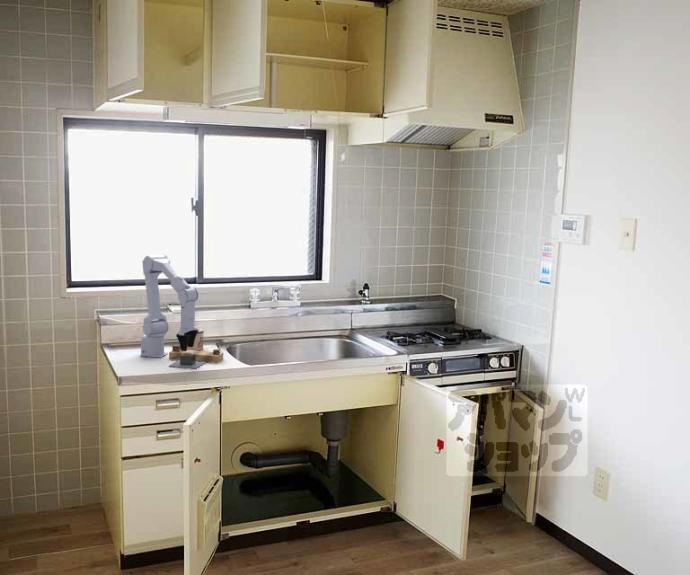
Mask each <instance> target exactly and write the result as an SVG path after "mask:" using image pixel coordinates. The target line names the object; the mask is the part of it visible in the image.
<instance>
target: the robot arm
mask: <svg viewBox="0 0 690 575" xmlns="http://www.w3.org/2000/svg"><path fill="white" fill-rule="evenodd" d="M141 264H142V270H143V271H142V272H143V273H142V274H143V275H144V282H145V290H146V300H147V310H148V314H147V315H146V316H145V317H144V318H143V319H142V320H143V325H142V331H143V333H144V334H143V335H142V337H141V339H140V357H145V356H147V358H148V357H149V358H158V357H159V358H160V359H161V358H163V357H164V355H165V356H166V355H169V353H168V352H165V336H167V333H168V331H169V329H170V328H169V322H168V320H167V316H166V315H165V314H164V313H162V308H161V299H160V291H159V280H158V278H159V276H160V275H161V274H164V276H165V277H166V278H167V279H168V280H170V286H171V287H172V289H173V290H174V291H175V292H176V293H177V298H178V301H179V307H180V327H179V330H178V333H176V335H175V337H176V338H177V340H178V343H179V345H180V348H181V351H187V347H193V346H194V341H195V338H196V335H197V333H198V330H197V328H196V326H197V324H196V322H195V320H196V318H195V317H196V301H198V298H199V292H198V290H197V289H196V287H192V286H190V285H189V284H188V283H187V281H186V279H184V277H183V276H181V275H177V273H176V271H175V270H174V268H173V267H172V266H171V260H170V259H169V257H168V256H167V255H166V254H162V255H146V256H144V258H143V259H142V263H141Z"/></svg>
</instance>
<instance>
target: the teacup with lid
mask: <svg viewBox="0 0 690 575" xmlns="http://www.w3.org/2000/svg"><path fill="white" fill-rule="evenodd" d="M196 328H197V330H198V333H197V335H196V338H195V341H194V346H193V347H187V350H196V351H199V350H200V351H203V350H204V332H205V331H204V328H200V327H199V326H197V325H196Z"/></svg>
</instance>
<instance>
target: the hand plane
mask: <svg viewBox="0 0 690 575" xmlns="http://www.w3.org/2000/svg"><path fill="white" fill-rule="evenodd" d="M171 348H172V350H171V351H170V352H169V353H168V360H173V359H177V360H180V355H182V354H183V352H190V353H191V354H195V361H196V362H198V361H201V362H205V363H211V362H214V364H219V363H220V362H221V361H223V360H224V352H221V350H220V349H217V348H216V349H213V350H212V351H206V350H205V351H204V350H200V351H196V350H187V351H181V348H180V344H173V345H172V347H171ZM177 360H176V361H177Z"/></svg>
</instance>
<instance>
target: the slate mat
mask: <svg viewBox="0 0 690 575" xmlns="http://www.w3.org/2000/svg"><path fill="white" fill-rule="evenodd" d="M203 364H204V365H205V364H206V362H198V361H195V364H193V365H192V366H190V365H180V360H175V361H174V362H172V363H171V364H170V365H168V367H169V368H175V367H177V368H179V369H187V368H190V370H198V369H199V368H201V367H202V366H203ZM200 366H201V367H200ZM177 368H176V369H177ZM197 368H198V369H197Z"/></svg>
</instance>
